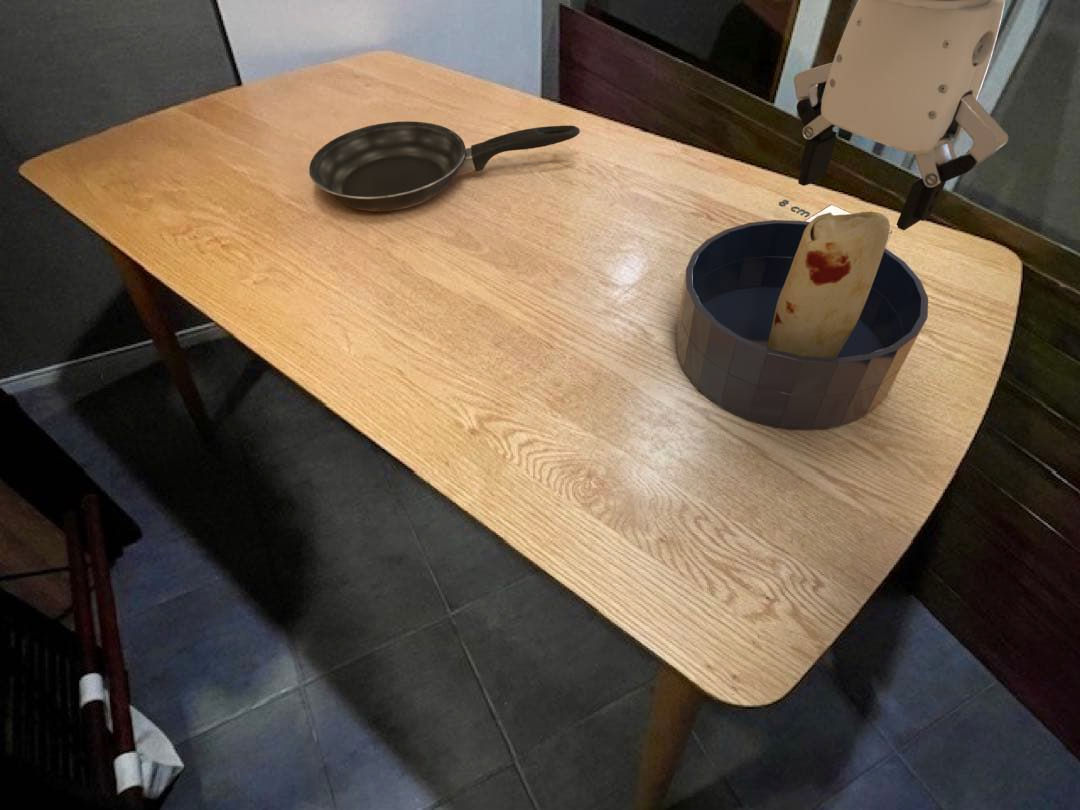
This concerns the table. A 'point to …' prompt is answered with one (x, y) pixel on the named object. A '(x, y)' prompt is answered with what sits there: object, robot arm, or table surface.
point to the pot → (746, 320)
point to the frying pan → (410, 161)
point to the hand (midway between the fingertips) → (858, 200)
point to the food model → (828, 283)
